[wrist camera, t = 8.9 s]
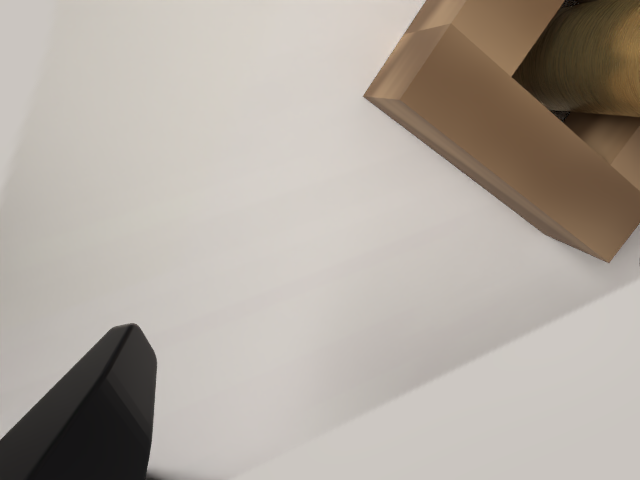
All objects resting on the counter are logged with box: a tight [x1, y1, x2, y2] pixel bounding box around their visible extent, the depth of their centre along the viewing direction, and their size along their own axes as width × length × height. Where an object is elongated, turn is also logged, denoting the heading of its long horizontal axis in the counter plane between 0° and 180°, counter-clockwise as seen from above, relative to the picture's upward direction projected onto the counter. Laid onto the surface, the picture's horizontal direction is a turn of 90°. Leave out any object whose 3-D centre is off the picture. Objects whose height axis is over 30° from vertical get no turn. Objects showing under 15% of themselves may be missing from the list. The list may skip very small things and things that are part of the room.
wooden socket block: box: [363, 0, 640, 263], centre depth 19 cm, size 11×11×4 cm
